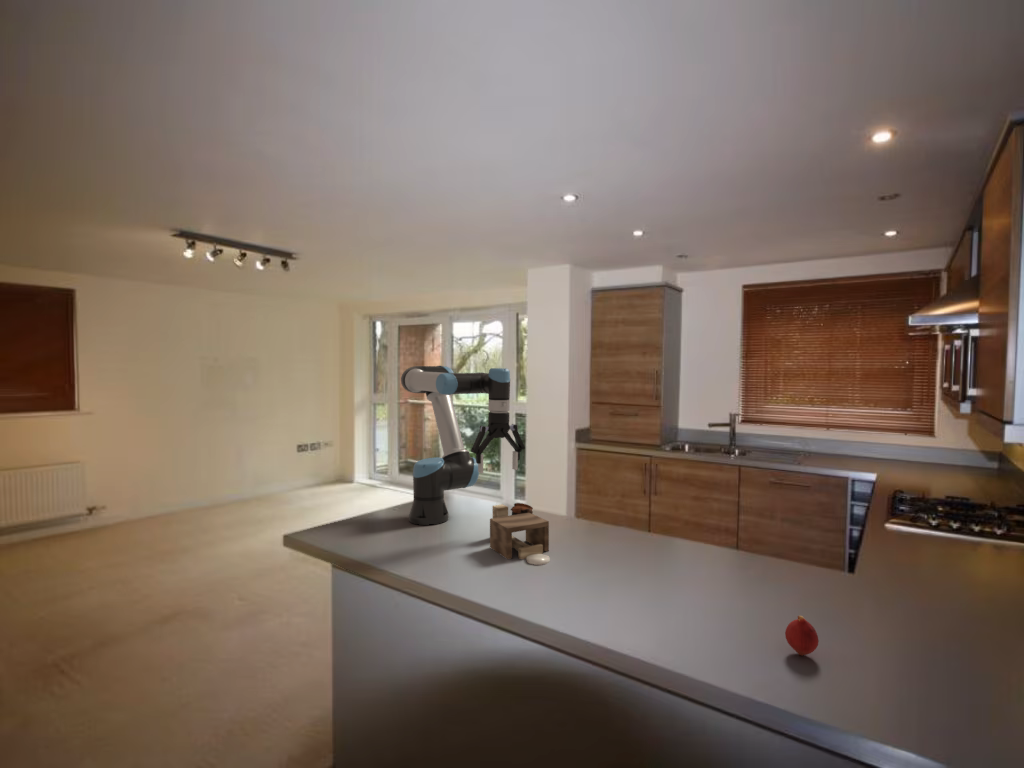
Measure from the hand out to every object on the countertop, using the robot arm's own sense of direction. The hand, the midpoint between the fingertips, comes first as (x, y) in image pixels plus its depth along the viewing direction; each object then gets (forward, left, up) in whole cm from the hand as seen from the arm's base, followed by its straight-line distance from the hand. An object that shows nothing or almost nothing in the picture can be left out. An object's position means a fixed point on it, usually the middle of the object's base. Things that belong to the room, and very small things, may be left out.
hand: (498, 471), depth 185 cm
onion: (+101, +17, -22) cm, 105 cm away
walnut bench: (+19, -2, -22) cm, 29 cm away
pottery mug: (-6, +14, -22) cm, 27 cm away
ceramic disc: (+31, -2, -22) cm, 38 cm away
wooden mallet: (+16, -2, -22) cm, 27 cm away
